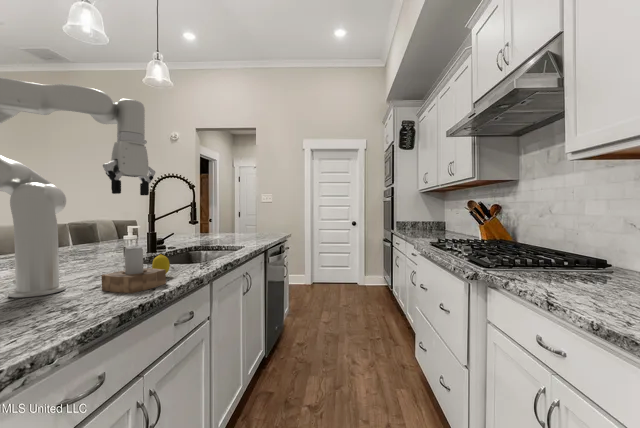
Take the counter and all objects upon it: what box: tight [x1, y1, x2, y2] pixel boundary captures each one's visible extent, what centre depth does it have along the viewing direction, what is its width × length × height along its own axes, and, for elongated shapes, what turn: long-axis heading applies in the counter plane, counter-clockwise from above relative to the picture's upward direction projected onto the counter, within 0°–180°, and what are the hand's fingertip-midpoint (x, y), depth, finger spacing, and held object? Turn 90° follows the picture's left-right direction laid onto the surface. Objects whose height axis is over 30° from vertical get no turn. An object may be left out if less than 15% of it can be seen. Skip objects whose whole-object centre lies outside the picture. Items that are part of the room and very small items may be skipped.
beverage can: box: [124, 246, 144, 275], centre depth 99 cm, size 5×5×12 cm
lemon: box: [151, 253, 171, 274], centre depth 113 cm, size 6×6×8 cm
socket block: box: [101, 267, 167, 294], centre depth 99 cm, size 13×13×4 cm
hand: (131, 194), depth 103 cm, fingers open, 9 cm apart
